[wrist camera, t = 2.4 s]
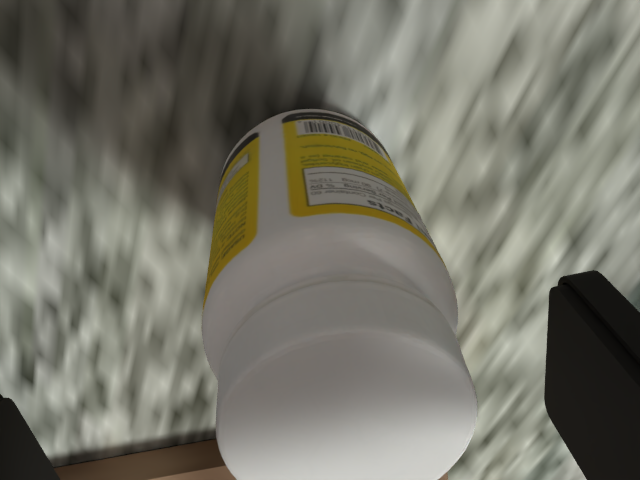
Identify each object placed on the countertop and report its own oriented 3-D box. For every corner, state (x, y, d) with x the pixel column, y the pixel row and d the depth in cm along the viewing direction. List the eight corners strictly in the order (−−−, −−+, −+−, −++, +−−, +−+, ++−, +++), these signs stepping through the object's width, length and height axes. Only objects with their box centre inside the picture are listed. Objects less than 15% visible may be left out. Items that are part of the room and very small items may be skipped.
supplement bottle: (264, 284, 17) (266, 562, 10) (187, 148, 15) (116, 386, 8) (416, 225, 17) (532, 476, 9) (360, 74, 14) (459, 257, 7)
